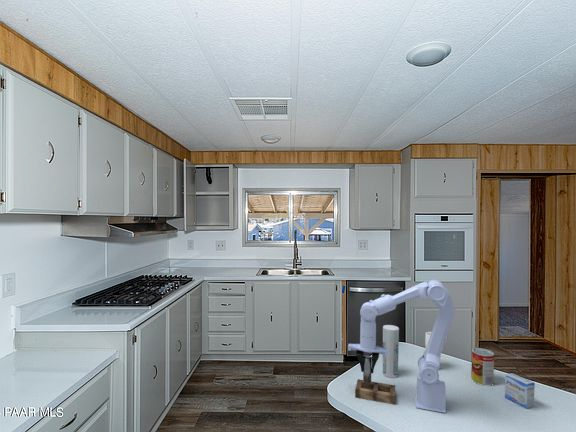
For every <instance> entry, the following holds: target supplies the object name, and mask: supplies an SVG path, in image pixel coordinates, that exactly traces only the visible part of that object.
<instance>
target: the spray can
mask: <svg viewBox="0 0 576 432" xmlns="http://www.w3.org/2000/svg"><path fill="white" fill-rule="evenodd" d="M399 335H400V328H399V327H398V326H396V325H392V324H384V325H383V326H382V348H386V349H388V356H385V355H383V354H382V375H383V376H384V377H386V378H389V379H395V378H397V377H398V376H399V349H400V348H399V344H400V343H399V342H400V336H399Z"/></svg>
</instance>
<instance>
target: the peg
mask: <svg viewBox="0 0 576 432" xmlns="http://www.w3.org/2000/svg"><path fill="white" fill-rule="evenodd" d="M371 369H372V355H364V357H363V372H362V380H363V381H364V382H365V383H371V381H372V373H371Z"/></svg>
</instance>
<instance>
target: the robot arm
mask: <svg viewBox="0 0 576 432" xmlns="http://www.w3.org/2000/svg"><path fill="white" fill-rule="evenodd" d="M427 297H428V298H429V299H430V301H432V302H433V303H435V305H436V306H437V309H438V311H437V314H436V317H435V320H434V323H433V327H432V330H431V332H432V333H431V336H430V339H429V342H428V345H427V348H426V347H425V350H424V351H423V354H422V355H421V357H419V358H418V361H417V367H418V370H419V373H418V374H416V395H414V400H415V408H416V409H422V410H427V411H432V412H438V413H445V414H446V411H447V410H446V409H447V407H446V404H447V398H446V397H447V390H446V388H447V387H446V382H445V381H443V380H441V379H440V372H439V370H440V368H439V364H440V363H441V357H440V356H441V355H442V352H443V349H444V346H445V343H446V340H447V337H448V335H449V331H450V328H451V324H452V322H453V318H454V315H455V312H456V308H455V306H454V302H453V300H452V296H451V293H450V292H449V291H448V289H447V288H446V286H445V285H444V284H443V282H442V281H440V280H439V279H436V278H435V279H434V278H433V279H432V278H431V279H430V280H428V281H422V282H421V283H418V284H416V285H413V286H412V287H409V288H408V289H407V288H406V289H405V290H403V291H401V292H399V293H396V294H394V295H390V294H384V293H383V294H381V295H380V297H378V298H376V299H374V300H373V299H370V300H369V301H367V302H364V303H363V304H362V305H361V307H360V310H359V315H360V324H359V325H360V327H359V329H360V330H359V332H360V333H359V336H360V337H359V343H348V346H347V350H348V351H350V352H351V351H353V352H355V355H356V358H357V359H358V362H359V365H360V372H362V373H363V357H364V356H365V354H364V353H369V354H371V357H372V369H371V374H374V371H375V366H376V364H377V361H378V360H379V357H380V355H382V356H383V355H385V356H388V349H386V348H383V346H378V345H377V344H376V343H377V323H376V318H377V316H381V315H384V314H387V313H390V312H391V311H393V310H396V308H397V305H399V304H402V303H405V302H408V301H411V300H412V299H415V298H421V299H424V300H427V299H428V298H427ZM440 365H441V364H440ZM438 369H439V370H438Z"/></svg>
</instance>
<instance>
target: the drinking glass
mask: <svg viewBox="0 0 576 432" xmlns="http://www.w3.org/2000/svg"><path fill="white" fill-rule="evenodd" d="M431 333H432V331H426V332H425V336H424V339H425V340H424V344H425V345H424V346H425V349H426V348H427V345H428V342H429V339H430V336H431ZM440 358H441V356H440ZM440 367H441V364H439V369H438V371H439V370H440Z"/></svg>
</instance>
